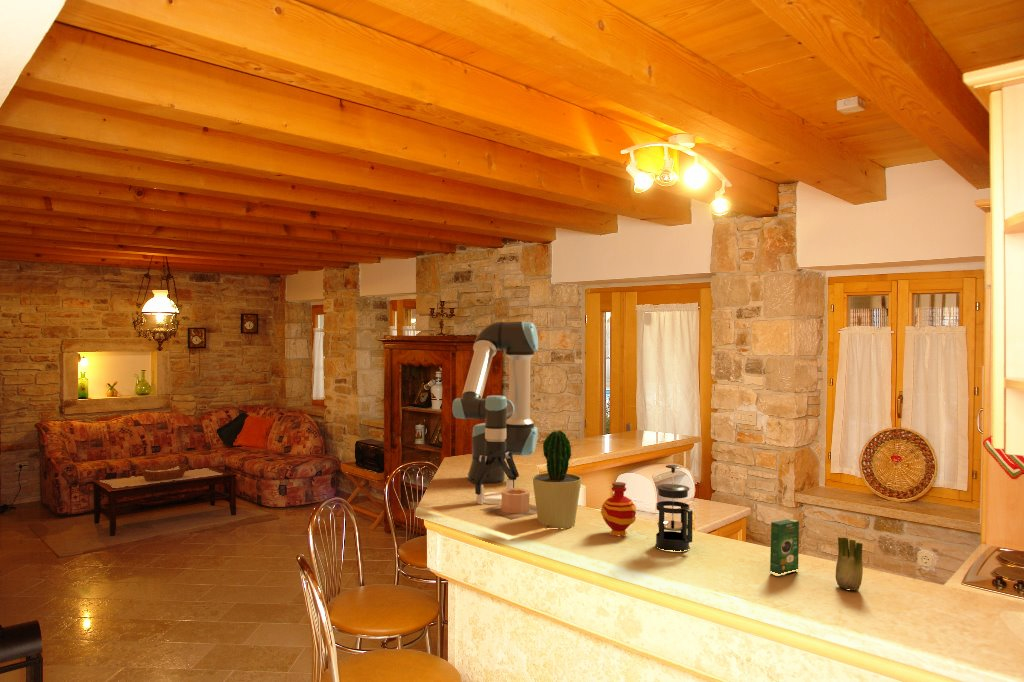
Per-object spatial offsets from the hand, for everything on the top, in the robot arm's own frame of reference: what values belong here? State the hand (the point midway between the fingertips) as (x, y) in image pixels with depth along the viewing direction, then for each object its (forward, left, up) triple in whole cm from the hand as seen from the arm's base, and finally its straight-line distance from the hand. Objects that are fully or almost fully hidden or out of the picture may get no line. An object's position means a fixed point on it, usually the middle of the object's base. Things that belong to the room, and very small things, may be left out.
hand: (495, 500), depth 238 cm
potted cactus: (+2, +32, -1) cm, 32 cm away
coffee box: (-10, +100, -1) cm, 100 cm away
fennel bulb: (-11, +115, -1) cm, 115 cm away
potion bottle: (-5, +51, -1) cm, 51 cm away
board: (+3, +14, -1) cm, 14 cm away
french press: (-6, +70, -1) cm, 70 cm away
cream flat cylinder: (0, 0, -2) cm, 2 cm away
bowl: (+3, +14, 0) cm, 14 cm away
